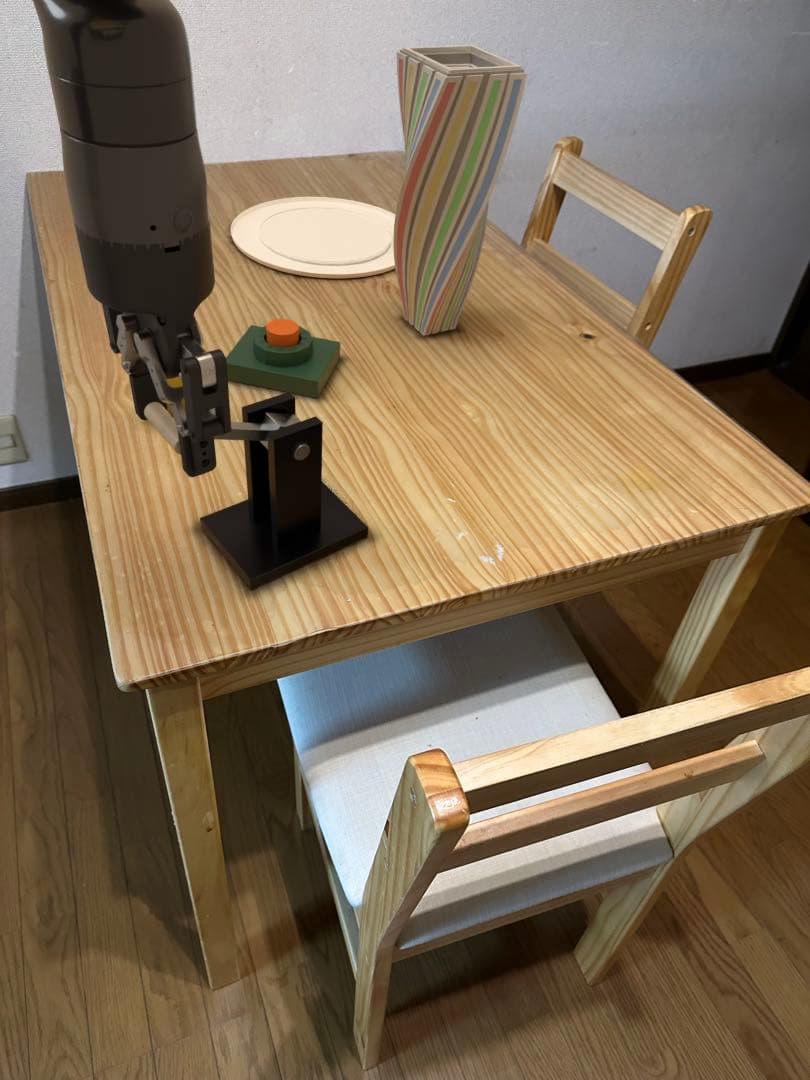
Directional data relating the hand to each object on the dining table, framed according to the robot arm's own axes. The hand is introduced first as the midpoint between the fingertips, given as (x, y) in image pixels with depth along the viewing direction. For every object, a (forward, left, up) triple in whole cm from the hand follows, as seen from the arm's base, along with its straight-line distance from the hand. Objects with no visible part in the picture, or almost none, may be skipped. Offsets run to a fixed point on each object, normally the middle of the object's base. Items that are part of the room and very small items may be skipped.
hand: (175, 442), depth 55 cm
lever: (+3, +3, -2) cm, 5 cm away
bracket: (+6, +7, -13) cm, 16 cm away
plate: (-9, +70, -13) cm, 72 cm away
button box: (-3, +33, -13) cm, 36 cm away
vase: (+11, +50, -14) cm, 53 cm away
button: (-3, +33, -10) cm, 34 cm away
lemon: (-11, +20, -14) cm, 27 cm away
